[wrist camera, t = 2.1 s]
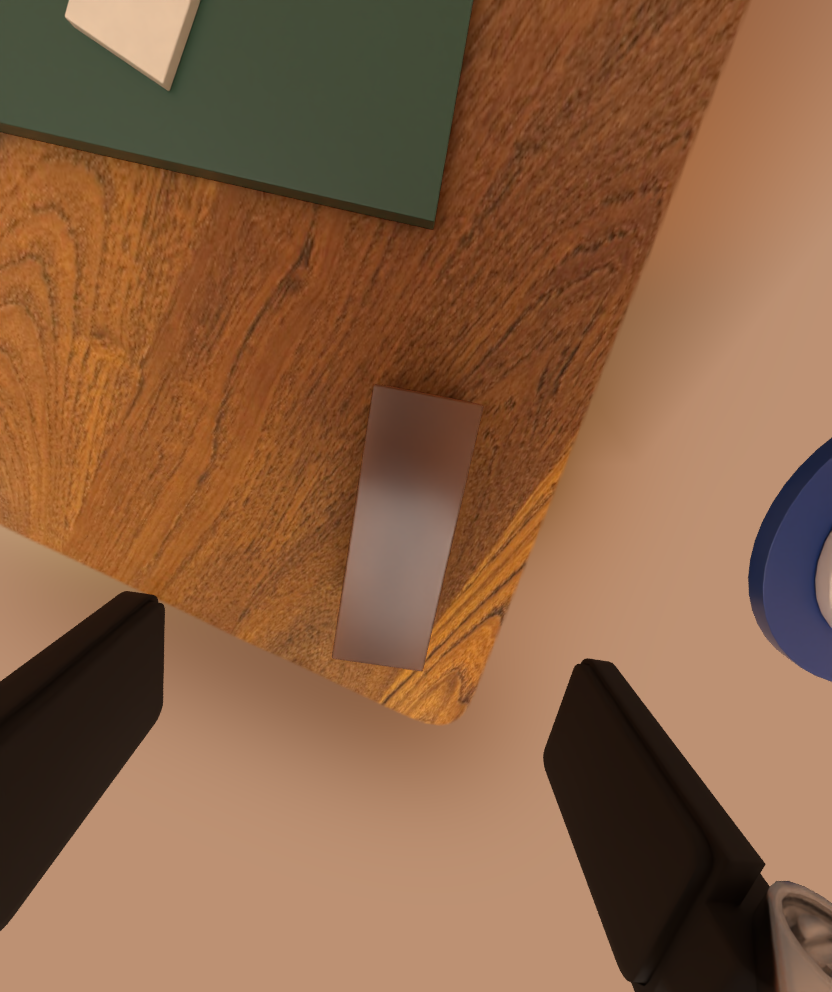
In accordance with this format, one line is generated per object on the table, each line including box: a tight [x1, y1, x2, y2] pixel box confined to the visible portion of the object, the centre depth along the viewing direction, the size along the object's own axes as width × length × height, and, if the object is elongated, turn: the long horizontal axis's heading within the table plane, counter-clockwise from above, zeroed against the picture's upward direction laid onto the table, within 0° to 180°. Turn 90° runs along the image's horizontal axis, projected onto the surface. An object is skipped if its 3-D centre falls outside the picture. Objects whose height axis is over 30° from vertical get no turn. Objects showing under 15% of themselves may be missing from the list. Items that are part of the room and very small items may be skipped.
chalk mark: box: [65, 0, 201, 91], centre depth 15 cm, size 4×4×1 cm
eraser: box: [332, 384, 483, 671], centre depth 20 cm, size 4×13×6 cm, turn 169°
